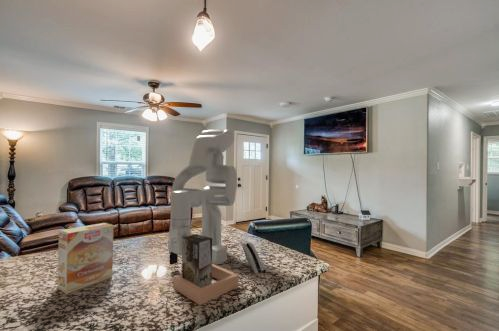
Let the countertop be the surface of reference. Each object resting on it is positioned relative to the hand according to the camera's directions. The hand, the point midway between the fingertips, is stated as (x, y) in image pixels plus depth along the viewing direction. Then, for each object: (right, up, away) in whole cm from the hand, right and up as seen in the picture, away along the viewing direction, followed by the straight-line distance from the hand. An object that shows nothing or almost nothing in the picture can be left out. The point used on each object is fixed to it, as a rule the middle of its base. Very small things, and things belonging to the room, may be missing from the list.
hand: (180, 267), depth 95 cm
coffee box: (+8, -2, -9) cm, 12 cm away
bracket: (+12, -2, -11) cm, 17 cm away
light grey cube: (+13, -3, +13) cm, 18 cm away
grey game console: (+28, -3, +9) cm, 30 cm away
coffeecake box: (-30, -2, -9) cm, 32 cm away
